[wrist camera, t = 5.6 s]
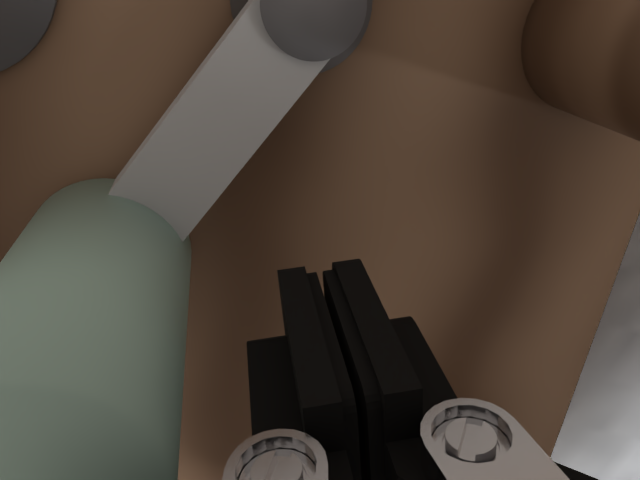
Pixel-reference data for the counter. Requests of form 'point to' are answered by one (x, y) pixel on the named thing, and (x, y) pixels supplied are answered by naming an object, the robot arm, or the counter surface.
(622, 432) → the counter surface
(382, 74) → the wooden peg stand
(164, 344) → the hinged leg
